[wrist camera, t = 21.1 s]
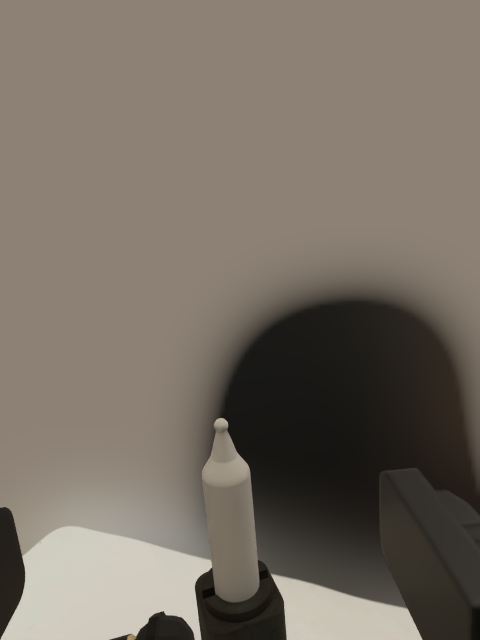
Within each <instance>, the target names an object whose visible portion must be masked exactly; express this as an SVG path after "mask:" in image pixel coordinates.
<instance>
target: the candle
mask: <svg viewBox="0 0 480 640" xmlns="http://www.w3.org/2000/svg"><path fill="white" fill-rule="evenodd" d="M214 428H215V430H216V434H215V439H214V444H213V448H212V453H211V457H210V458H209V460H208V461H207V463H206V465H205V467H204V469H203V472H202V482H203V490H204V499H205V508H206V517H207V525H208V534H209V543H210V551H211V560H212V568H211V569H210V570H209V571H208V572H206V573H204V574H203V575H201V576H200V577H199V578H198V580H197V581H196V584H195V592H196V600H197V608H198V615H199V623H200V631H201V639H202V640H286V627H285V613H284V601H283V598H282V596H281V594H280V592H279V590H278V588H277V586H276V584H275V582H274V580H273V578H272V576H271V574H270V572H269V570H268V568H267V567H266V565H265V564H264V563H263V562H261V561H259V560H258V559H257V549H256V536H255V524H254V513H253V502H252V491H251V479H250V470H249V467H248V464H247V463H246V462H245V461H244V460H243V459H242V458H241V457H240V456H239V454H238V453H237V452H236V450H235V447H234V445H233V443H232V440H231V438H230V436H229V434H228V431H227V428H228V423H227V421H226V420H225V419H222V418H219V419H217V420H216V422H215V423H214Z"/></svg>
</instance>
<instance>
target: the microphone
mask: <svg viewBox="0 0 480 640" xmlns="http://www.w3.org/2000/svg"><path fill="white" fill-rule="evenodd" d="M111 640H195V639H194V634H193V631H192V629H191V628H190V627H189V625H188V624H187V623H186V622H185V621H184V619H183V618H181V617H177V616H167V615H165V613H164V611H163V612H160V613H156V614H154V615H153V616H151V617H150V618H149V622H148V623H147V624H146V625H145V626H144V627H143V628H141V629H140V631H139V633H138V635H137V636H136V637H135V636H134V635H133V634H129V635H125V636H122V637H118V638H114V639H111Z"/></svg>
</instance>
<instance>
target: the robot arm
mask: <svg viewBox="0 0 480 640" xmlns="http://www.w3.org/2000/svg"><path fill="white" fill-rule="evenodd" d="M379 509H380V511H379V512H380V540H381V546H382V550H383V554H384V558H385V561H386V564H387V566H388V568H389V570H390V572H391V574H392V576H393V579H394V581H395V583H396V585H397V587H398V589H399V591H400V593H401V595H402V597H403V599H404V602H405V604H406V606H407V608H408V610H409V612H410V614H411V616H412V618H413V621H414V623H415V625H416V627H417V629H418V631H419V633H420V635H421V637H422V639H423V640H480V516H479V515H478V514H477V513H476V511H475V510H474V509H473V508H472V507H471V506H470V504H468V503H467V502H465V501H464V500H462V499H460V498H459V497H457V496H456V495H454V494H452V493H451V492H449V491H448V490H440V491H435V490H434V489H433V488H432V486H431V485H430V484H429V482H428V481H427V480H426V479H425V477H424V476H423V475H422V474H421V472H420V471H419V470H418V469H416V468H412V469H401V470H391V471H383V472H381V473H380V477H379ZM24 583H25V568H24V563H23V559H22V554H21V550H20V545H19V541H18V536H17V532H16V527H15V523H14V519H13V515H12V513H11V511H10V510H9V509H8V508H6V507H3V508H0V639H1V637H2V635H3V633H4V631H5V629H6V627H7V625H8V623H9V621H10V620H11V618H12V616H13V614H14V612H15V610H16V608H17V606H18V604H19V602H20V600H21V597H22V594H23V589H24Z"/></svg>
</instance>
